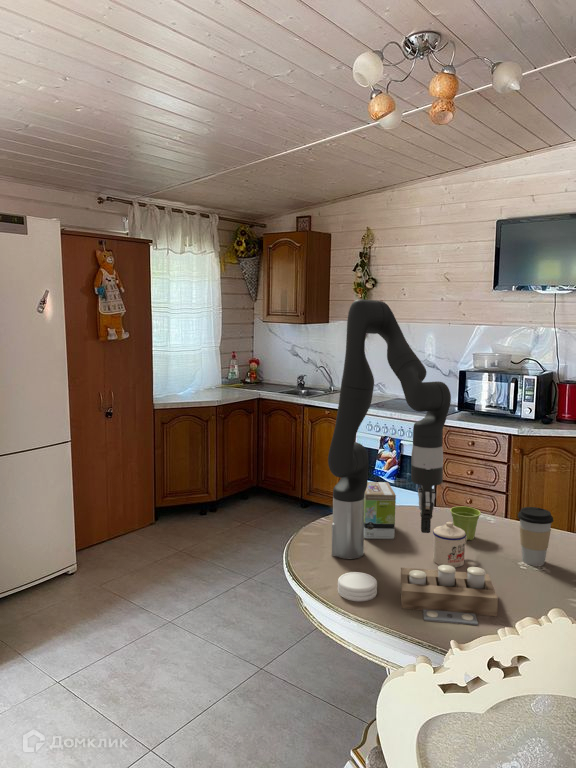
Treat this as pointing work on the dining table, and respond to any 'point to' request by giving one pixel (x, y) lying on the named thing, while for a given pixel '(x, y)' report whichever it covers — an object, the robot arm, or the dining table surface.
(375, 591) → the coaster
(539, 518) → the coffee cup
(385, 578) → the dining table surface
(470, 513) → the plant pot
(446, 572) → the middle button
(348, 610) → the dining table surface
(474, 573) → the right button
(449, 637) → the dining table surface
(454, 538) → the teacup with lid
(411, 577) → the left button
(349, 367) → the robot arm
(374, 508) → the tea box
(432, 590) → the button board
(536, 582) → the dining table surface
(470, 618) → the card
